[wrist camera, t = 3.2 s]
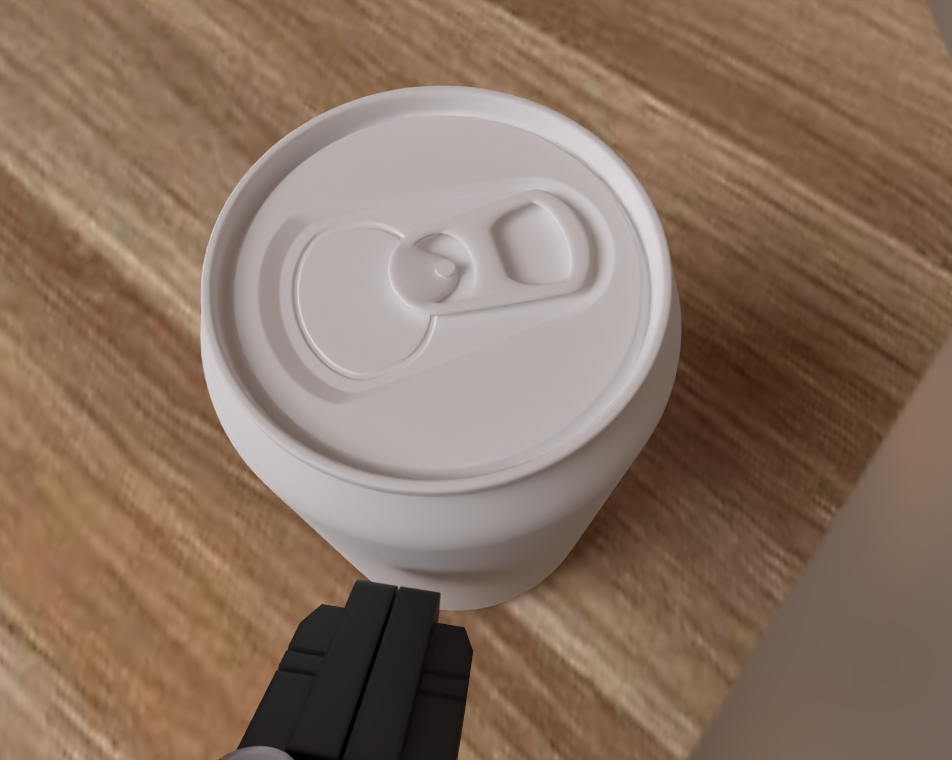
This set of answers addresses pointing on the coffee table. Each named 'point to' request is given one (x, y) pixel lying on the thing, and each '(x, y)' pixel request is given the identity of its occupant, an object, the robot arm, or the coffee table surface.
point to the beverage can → (441, 333)
